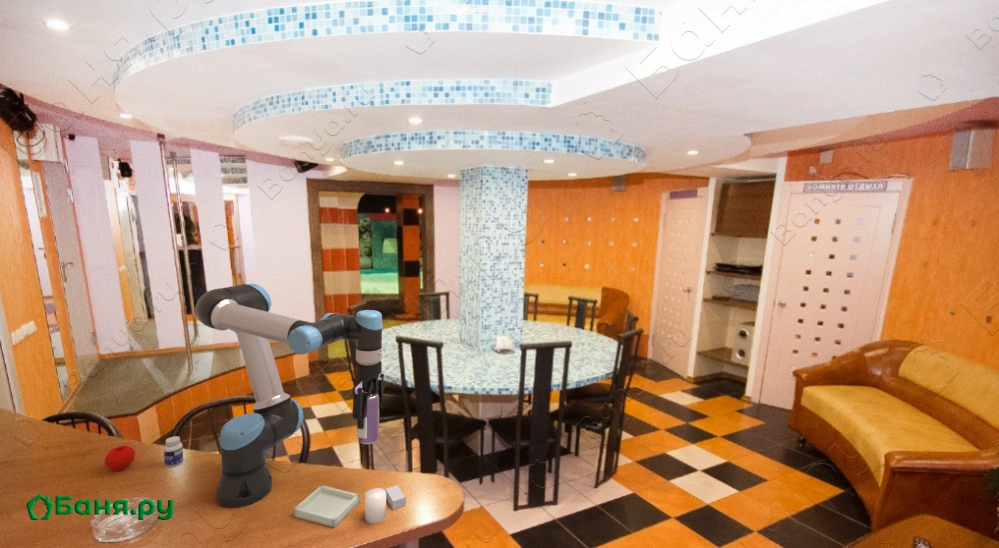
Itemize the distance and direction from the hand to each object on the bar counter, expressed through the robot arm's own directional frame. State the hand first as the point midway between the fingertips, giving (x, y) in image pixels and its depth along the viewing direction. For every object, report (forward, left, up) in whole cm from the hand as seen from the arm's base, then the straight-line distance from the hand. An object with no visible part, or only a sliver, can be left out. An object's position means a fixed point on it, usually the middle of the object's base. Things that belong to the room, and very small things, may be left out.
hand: (368, 432), depth 137 cm
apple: (-84, -17, -20) cm, 88 cm away
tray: (-7, -11, -20) cm, 24 cm away
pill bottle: (-71, -9, -20) cm, 74 cm away
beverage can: (0, 0, -3) cm, 3 cm away
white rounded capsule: (+8, -9, -20) cm, 24 cm away
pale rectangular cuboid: (+10, -1, -21) cm, 23 cm away
